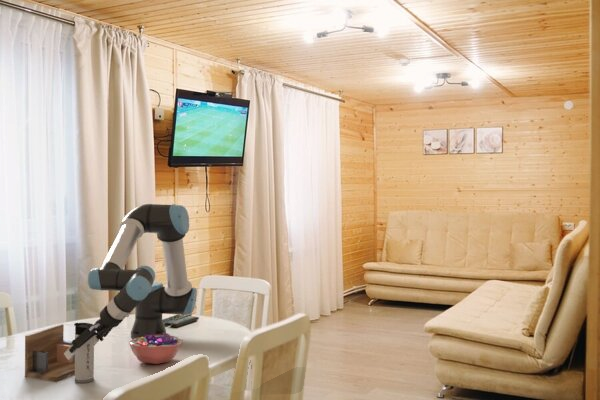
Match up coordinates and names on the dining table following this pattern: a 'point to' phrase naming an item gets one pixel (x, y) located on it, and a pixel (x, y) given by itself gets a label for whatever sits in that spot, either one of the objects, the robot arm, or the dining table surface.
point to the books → (62, 349)
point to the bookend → (39, 362)
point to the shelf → (48, 343)
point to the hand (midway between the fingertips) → (76, 352)
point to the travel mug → (84, 357)
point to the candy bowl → (155, 348)
